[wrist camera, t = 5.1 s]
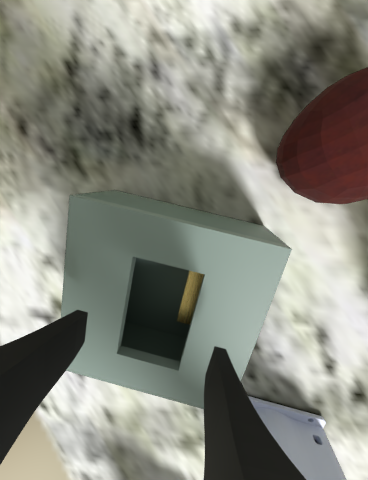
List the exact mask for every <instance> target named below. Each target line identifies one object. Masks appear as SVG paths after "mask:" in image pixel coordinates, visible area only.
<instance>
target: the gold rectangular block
mask: <svg viewBox="0 0 368 480" xmlns="http://www.w3.org/2000/svg"><path fill="white" fill-rule="evenodd" d="M203 276H204V274H201V273H197V272H193V271H189V273H188V277H187V281H186V285H185V289H184V293H183V296H182V300H181V304H180V308H179V313H178V317H177V321H178V322H181V323H185V324H189V325H190V323H191V320H192V316H193V312H194V309H195V305H196V301H197V298H198V294H199V290H200V287H201V283H202V279H203Z"/></svg>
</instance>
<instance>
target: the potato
mask: <svg viewBox="0 0 368 480" xmlns="http://www.w3.org/2000/svg"><path fill="white" fill-rule="evenodd" d="M276 163H277V167H278V170H279V173H280V177H281V178H282V179H283V180H284V181H285V182H286V184H287V185H288V186H289V187H290V188H291V189H292V190H293V191H294V192H295V193H297V194H299V195H301V196H303V197H306V198H308V199H310V200H312V201H314V202H318V203H332V204H347V203H352V202H356V201H361V200H365V199H368V67H367V68H365V69H362V70H360V71H357V72H355V73H352V74H350V75H348V76H346V77H344V78H342V79H341V80H339V81H337V82H336V83H334V84H333V85H331V86H329V87H328V88H326V89H325V90H324V91H323V92H322V93H321V94H320V95H318V96H317V97H316V98H315V99H314V100H313V101H312V102H310V103H309V104H308V105H307V106H306V107H305V108H304V110H303V111H302V112H301V113H300V114H299V115H298V116H297V117H296V119H295V120H294V121H293V122H292V124H291V125H290V127H289V128H288V130H287V131H286V133H285V134H284V136H283V138H282V140H281V142H280V145H279V147H278V150H277V160H276Z"/></svg>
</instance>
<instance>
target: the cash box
mask: <svg viewBox="0 0 368 480" xmlns="http://www.w3.org/2000/svg"><path fill="white" fill-rule="evenodd" d="M291 250H292V249H291V248H290V247H289V246H287V245H286V244H285V243H284V242H283V241H281V240H280V239H279V238H278V237H277V236H276V235H274V234H273V233H272V232H271V231H270V230H268V229H267V228H266V227H265V226H263V225H258V224H254V223H250V222H246V221H242V220H237V219H233V218H229V217H225V216H221V215H217V214H212V213H208V212H204V211H200V210H196V209H192V208H187V207H183V206H179V205H175V204H171V203H167V202H162V201H158V200H154V199H150V198H146V197H142V196H137V195H133V194H129V193H125V192H121V191H116V190H111V191H103V192H94V193H85V194H77V195H70V198H69V212H68V226H67V240H66V253H65V267H64V281H63V295H62V309H61V318H62V317H64V316H66V315H68V314H70V313H72V312H74V311H76V310H81V311H85V312H88V317H87V325H86V334H85V342H84V344H83V346H82V347H81V349H80V351H79V352H78V354H77V356H76V357H75V359H74V360H73V362H72V363H71V364H70V366H69V367H68V368H67V369H66V371H69V372H73V373H77V374H80V375H84V376H87V377H91V378H94V379H98V380H102V381H105V382H109V383H112V384H116V385H119V386H123V387H127V388H130V389H134V390H137V391H141V392H144V393H148V394H152V395H155V396H159V397H162V398H166V399H170V400H173V401H177V402H180V403H184V404H187V405H191V406H195V407H198V408H202V409H204V385H205V375H206V371H207V368H208V365H209V362H210V359H211V356H212V353H213V350H214V347H215V346H216V347H220V348H224V349H226V350H227V352H228V355H229V357H230V360H231V362H232V364H233V367H234V369H235V371H236V373H237V375H238V378H239V380H240V382H241V380H242V377H243V375H244V372H245V370H246V367H247V364H248V362H249V359H250V357H251V354H252V351H253V349H254V346H255V344H256V341H257V338H258V336H259V333H260V331H261V328H262V325H263V323H264V320H265V318H266V315H267V312H268V310H269V307H270V305H271V302H272V299H273V297H274V294H275V292H276V289H277V286H278V284H279V281H280V279H281V276H282V273H283V271H284V268H285V266H286V263H287V260H288V258H289V255H290V253H291ZM189 271H193V272H197V273H201V274H204V276H203V279H202V283H201V287H200V290H199V294H198V298H197V301H196V305H195V309H194V312H193V316H192V320H191V323H190V325H189V324H185V323H181V322H178V321H177V317H178V313H179V308H180V304H181V300H182V296H183V293H184V289H185V285H186V281H187V277H188V273H189Z"/></svg>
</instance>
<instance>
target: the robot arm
mask: <svg viewBox="0 0 368 480" xmlns="http://www.w3.org/2000/svg"><path fill="white" fill-rule="evenodd" d="M87 317H88V312H85V311H81V310H76V311H74V312H72V313H70V314H68V315H66V316H64V317H62V318H60V319H58V320H57V321H55V322H53V323H51V324H49V325H47V326H45V327H43V328H41V329H39V330H37V331H34V332H32V333H30V334H28V335H26V336H24V337H21V338H19V339H17V340H15V341H12V342H10V343H7V344H5V345H2V346H0V464H1V463H2V461H3V460H4V458H5V456H6V455H7V453H8V452H9V450H10V448H11V447H12V445H13V444H14V442H15V441H16V439H17V437H18V436H19V434H20V433H21V431H22V430H23V428H24V427H25V425H26V423H27V422H28V420H29V419H30V417H31V416H32V414H33V413H34V411H35V410H36V409H37V407H38V406H39V404H40V403H41V402H42V400H43V399H44V398H45V396H46V395H47V394H48V393H49V391H50V390H51V389H52V387H53V386H54V385H55V384H56V382H57V381H58V380H59V378H60V377H61V376H62V375H63V373H64V372H65V371H66V369H67V368H68V367H69V366H70V364H71V363H72V362H73V360H74V359H75V357H76V356H77V354H78V352H79V351H80V349H81V347H82V346H83V344H84V342H85V334H86V325H87ZM325 423H326V422H325V420H324V418H323V417H322V416H319V415H315V414H312V413H308V412H304V411H301V410H297V409H293V408H290V407H286V406H282V405H279V404H275V403H271V402H268V401H264V400H261V399H257V398H253V397H250V396H248V395H247V393H246V392H245V390H244V388H243V386H242V384H241V382H240V380H239V378H238V375H237V373H236V371H235V369H234V367H233V364H232V362H231V360H230V357H229V355H228V352H227V350H226V349H224V348H220V347H216V346H215V347H214V350H213V353H212V356H211V359H210V362H209V365H208V368H207V371H206V375H205V385H204V428H205V468H204V480H346V478H345V475H344V473H343V471H342V469H341V467H340V464H339V462H338V460H337V458H336V456H335V454H334V451H333V449H332V447H331V445H330V443H329V440H328V438H327V436H326V434H325V432H324V430H323V427H324V425H325Z"/></svg>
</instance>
